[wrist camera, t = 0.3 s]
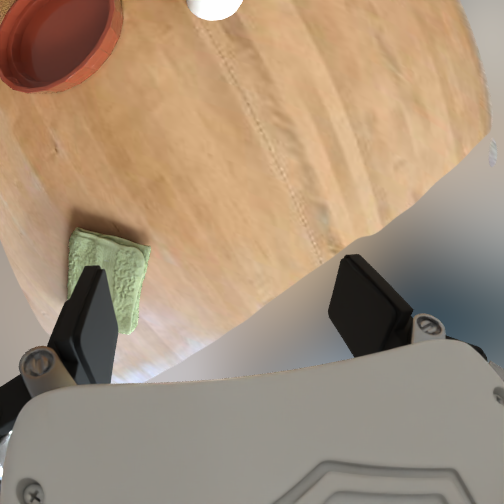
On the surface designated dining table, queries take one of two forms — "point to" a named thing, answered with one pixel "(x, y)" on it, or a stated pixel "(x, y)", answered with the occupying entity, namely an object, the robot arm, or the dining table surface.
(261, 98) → the dining table surface
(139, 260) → the washcloth
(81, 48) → the bowl
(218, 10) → the cylindrical container
